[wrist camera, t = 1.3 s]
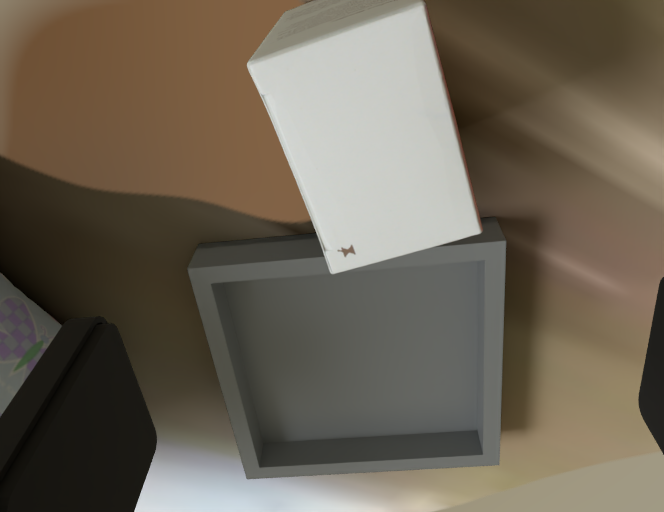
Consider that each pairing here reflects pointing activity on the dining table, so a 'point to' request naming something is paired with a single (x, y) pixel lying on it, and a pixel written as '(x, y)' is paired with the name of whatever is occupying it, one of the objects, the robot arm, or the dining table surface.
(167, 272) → the dining table surface
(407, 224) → the small box
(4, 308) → the lunch bag
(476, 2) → the dining table surface
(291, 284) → the tray
